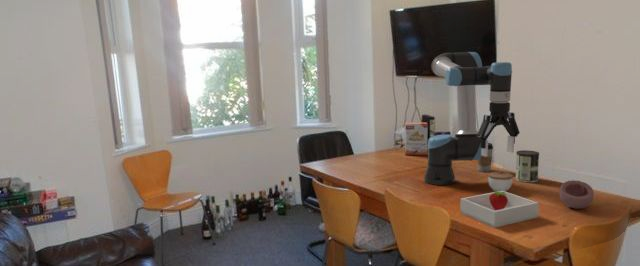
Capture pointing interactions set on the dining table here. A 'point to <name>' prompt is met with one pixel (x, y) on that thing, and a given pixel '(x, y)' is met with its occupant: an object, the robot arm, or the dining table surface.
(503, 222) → the bin
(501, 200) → the strawberry
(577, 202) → the mortar and pestle
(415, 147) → the cracker box
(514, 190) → the dining table surface
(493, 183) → the lidded jar
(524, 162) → the coffee can
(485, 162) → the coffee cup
